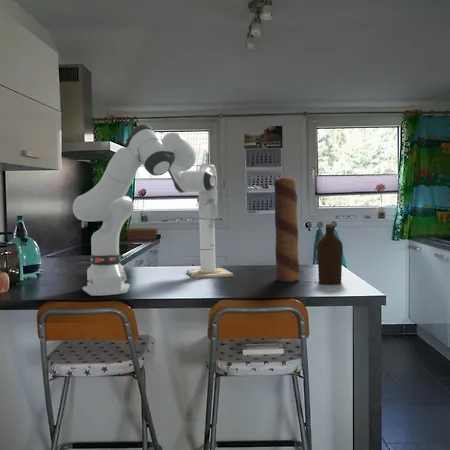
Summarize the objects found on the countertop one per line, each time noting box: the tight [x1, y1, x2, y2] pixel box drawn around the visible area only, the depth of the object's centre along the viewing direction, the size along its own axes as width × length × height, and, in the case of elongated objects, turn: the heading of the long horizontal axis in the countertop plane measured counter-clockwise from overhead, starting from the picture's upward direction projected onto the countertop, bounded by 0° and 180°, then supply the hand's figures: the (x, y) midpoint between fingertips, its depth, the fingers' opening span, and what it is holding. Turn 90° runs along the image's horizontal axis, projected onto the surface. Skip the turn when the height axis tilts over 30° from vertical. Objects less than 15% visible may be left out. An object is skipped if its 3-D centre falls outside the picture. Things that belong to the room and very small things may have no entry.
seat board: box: [186, 267, 234, 280], centre depth 225 cm, size 18×18×2 cm
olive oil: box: [316, 223, 344, 286], centre depth 199 cm, size 11×11×25 cm
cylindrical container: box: [198, 218, 216, 273], centre depth 224 cm, size 7×7×25 cm
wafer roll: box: [274, 177, 300, 283], centre depth 206 cm, size 10×11×45 cm
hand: (208, 227), depth 224 cm, fingers open, 8 cm apart
